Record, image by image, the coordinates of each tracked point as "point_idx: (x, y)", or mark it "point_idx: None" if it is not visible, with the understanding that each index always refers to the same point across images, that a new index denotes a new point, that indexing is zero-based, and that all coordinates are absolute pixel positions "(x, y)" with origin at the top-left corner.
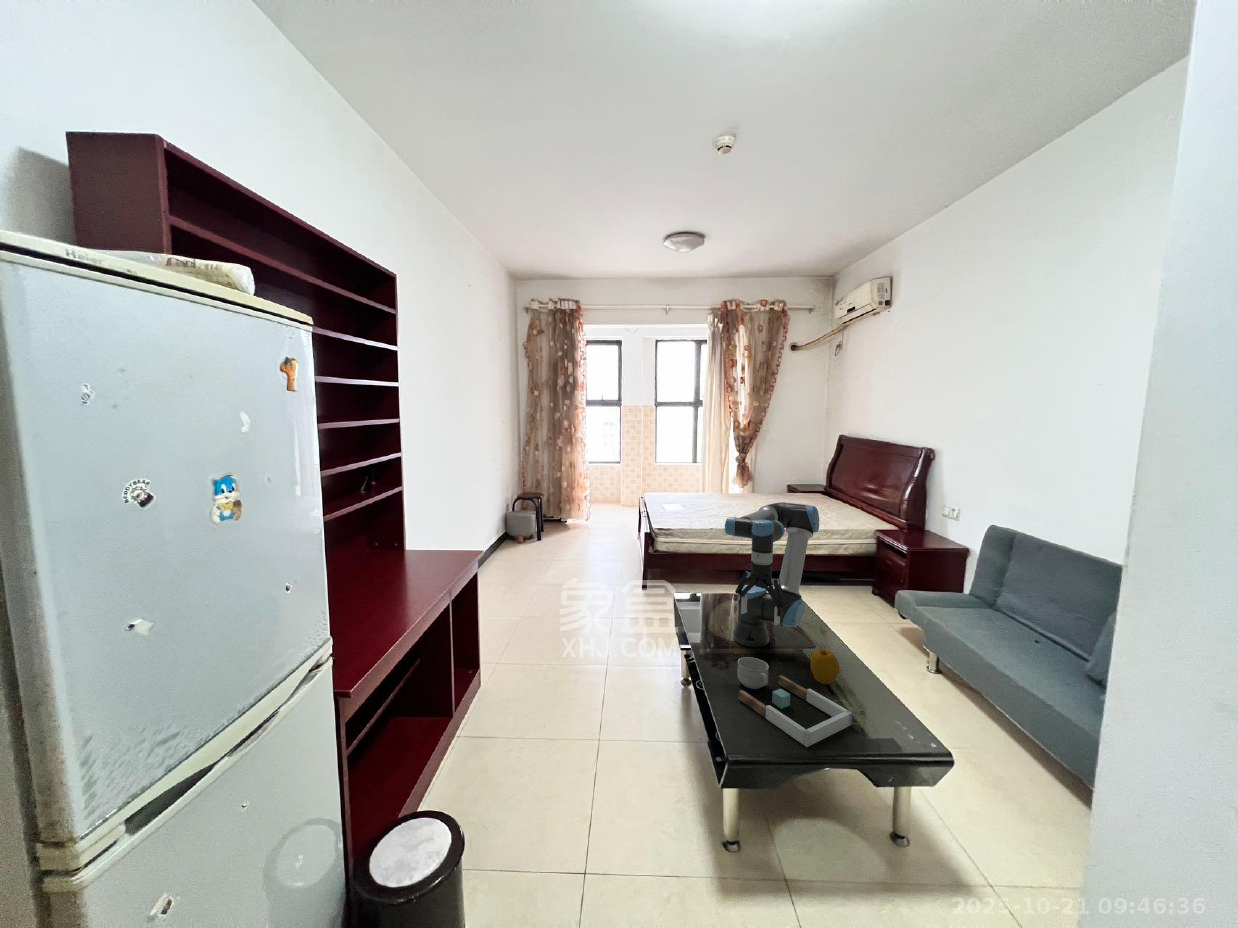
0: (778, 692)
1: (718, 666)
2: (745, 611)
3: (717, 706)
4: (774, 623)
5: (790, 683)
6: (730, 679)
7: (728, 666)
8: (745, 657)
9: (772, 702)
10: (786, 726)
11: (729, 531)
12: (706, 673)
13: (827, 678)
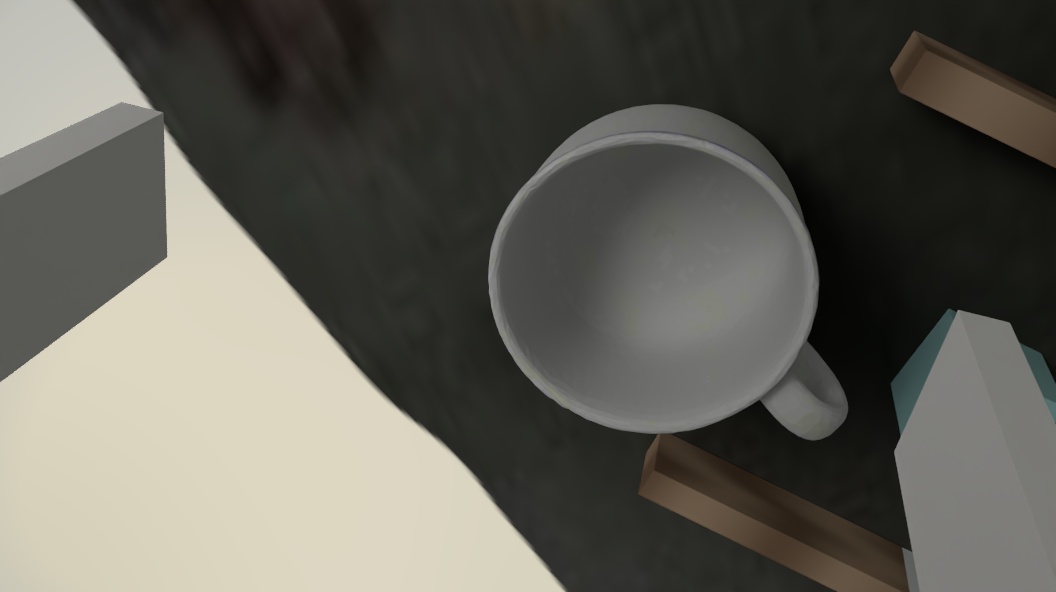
0: None
1: (302, 82)
2: (145, 168)
3: (560, 574)
4: (906, 474)
5: (1043, 160)
6: (484, 233)
7: (368, 26)
8: (524, 193)
9: (894, 386)
10: None
11: None
12: (294, 249)
13: None
